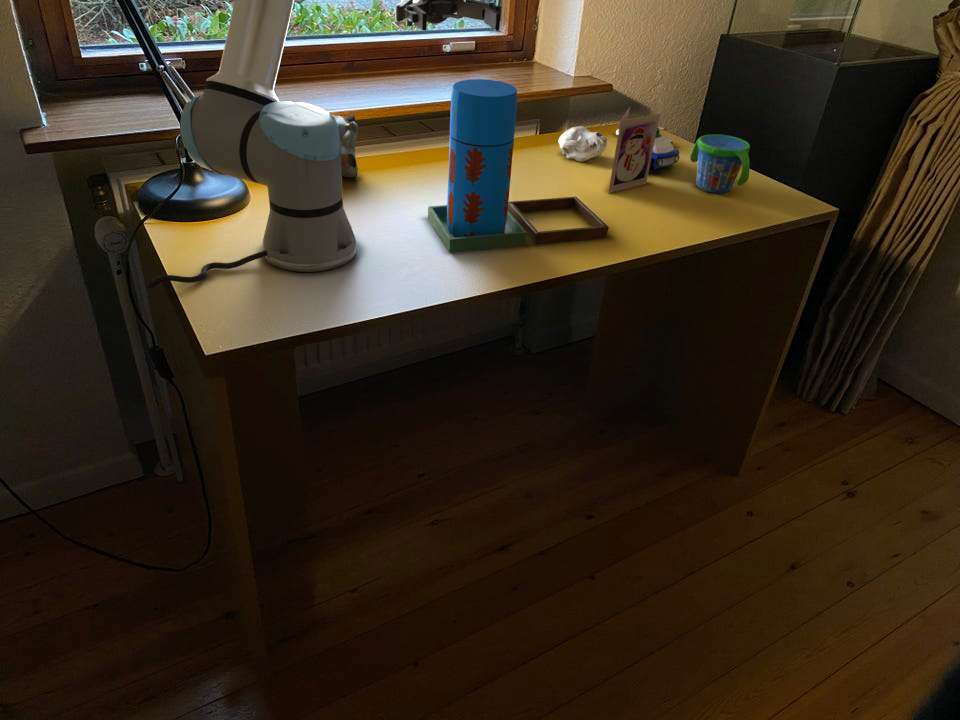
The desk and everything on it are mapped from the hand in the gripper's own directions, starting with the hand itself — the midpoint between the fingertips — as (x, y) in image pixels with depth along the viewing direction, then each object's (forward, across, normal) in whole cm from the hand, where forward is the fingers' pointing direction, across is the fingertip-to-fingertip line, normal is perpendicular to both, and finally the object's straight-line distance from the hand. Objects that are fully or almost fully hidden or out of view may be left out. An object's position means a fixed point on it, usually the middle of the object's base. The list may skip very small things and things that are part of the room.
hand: (461, 22), depth 130 cm
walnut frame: (+18, -15, -32) cm, 39 cm away
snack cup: (+7, -57, -32) cm, 66 cm away
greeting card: (+1, -36, -32) cm, 49 cm away
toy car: (-8, -48, -32) cm, 59 cm away
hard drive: (-24, -56, -32) cm, 69 cm away
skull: (-15, -34, -32) cm, 50 cm away
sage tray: (+18, +1, -32) cm, 37 cm away
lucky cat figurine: (-14, +24, -32) cm, 42 cm away
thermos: (+18, +1, -32) cm, 36 cm away
